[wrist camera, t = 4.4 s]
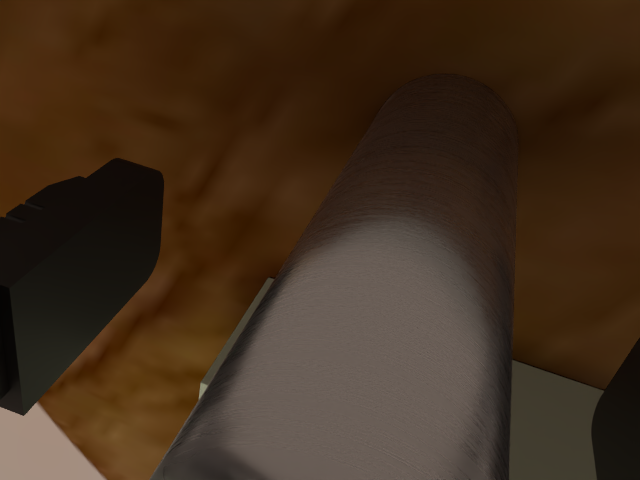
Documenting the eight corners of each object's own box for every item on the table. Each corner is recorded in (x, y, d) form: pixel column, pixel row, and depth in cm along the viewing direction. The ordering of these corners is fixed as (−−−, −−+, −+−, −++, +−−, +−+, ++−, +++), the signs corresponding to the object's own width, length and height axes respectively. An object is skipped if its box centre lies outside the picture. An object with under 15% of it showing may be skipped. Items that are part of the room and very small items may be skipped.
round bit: (542, 98, 15) (575, 550, 5) (489, 228, 17) (435, 730, 7) (391, 56, 15) (143, 389, 5) (357, 187, 17) (134, 601, 7)
